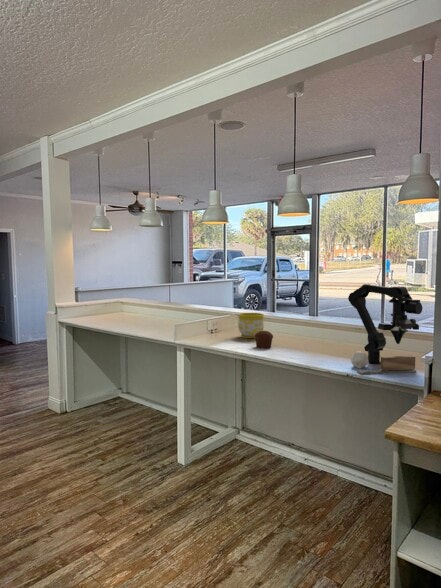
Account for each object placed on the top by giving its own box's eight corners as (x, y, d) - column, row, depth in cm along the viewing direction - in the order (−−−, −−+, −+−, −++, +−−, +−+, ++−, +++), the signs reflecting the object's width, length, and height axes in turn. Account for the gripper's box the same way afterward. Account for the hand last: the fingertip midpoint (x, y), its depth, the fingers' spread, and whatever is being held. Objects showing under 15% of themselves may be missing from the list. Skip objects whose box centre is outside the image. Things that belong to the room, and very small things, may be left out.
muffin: (252, 348, 251) (253, 332, 250) (255, 344, 261) (255, 329, 261) (272, 349, 248) (272, 332, 247) (274, 345, 258) (274, 330, 258)
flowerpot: (232, 336, 290) (232, 313, 289) (251, 334, 302) (251, 312, 300) (250, 340, 276) (250, 316, 275) (269, 337, 288) (269, 314, 287)
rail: (356, 372, 195) (356, 370, 195) (411, 370, 199) (411, 368, 199) (361, 374, 191) (361, 372, 191) (416, 372, 195) (416, 370, 195)
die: (350, 369, 202) (361, 356, 197) (344, 358, 209) (355, 344, 204) (363, 374, 204) (375, 361, 200) (357, 362, 211) (368, 349, 207)
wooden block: (380, 368, 196) (380, 356, 196) (411, 367, 198) (411, 355, 198) (383, 370, 193) (384, 357, 193) (415, 369, 195) (415, 356, 195)
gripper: (390, 314, 192) (389, 347, 193) (426, 313, 195) (425, 346, 196) (377, 311, 203) (377, 343, 204) (412, 311, 206) (411, 342, 207)
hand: (397, 343), depth 202 cm, fingers closed
